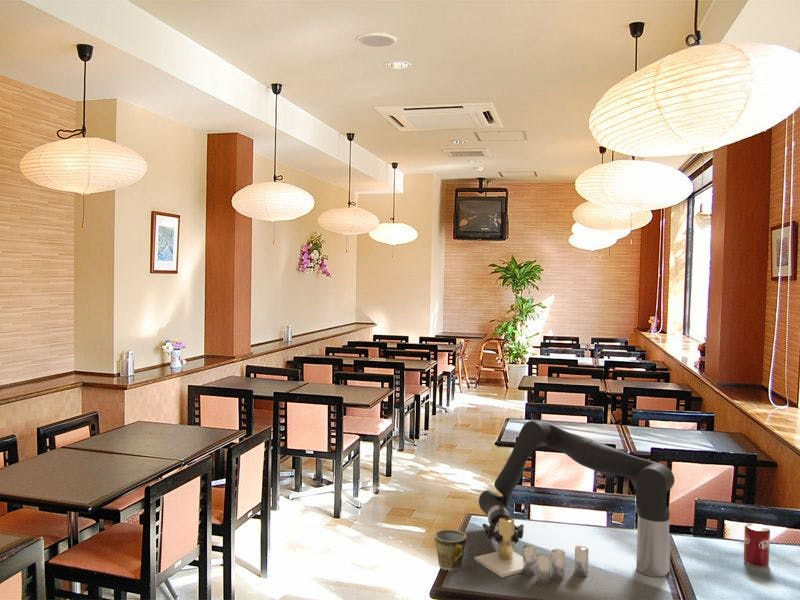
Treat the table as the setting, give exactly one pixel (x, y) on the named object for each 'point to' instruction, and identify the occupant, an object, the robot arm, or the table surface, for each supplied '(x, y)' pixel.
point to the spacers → (553, 563)
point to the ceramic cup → (450, 548)
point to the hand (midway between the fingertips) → (507, 540)
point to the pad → (501, 564)
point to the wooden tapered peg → (506, 539)
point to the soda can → (756, 545)
